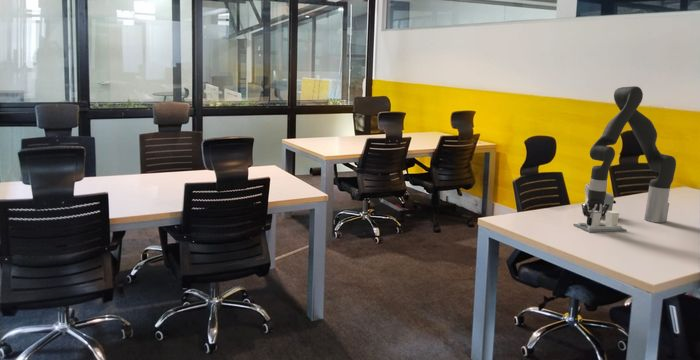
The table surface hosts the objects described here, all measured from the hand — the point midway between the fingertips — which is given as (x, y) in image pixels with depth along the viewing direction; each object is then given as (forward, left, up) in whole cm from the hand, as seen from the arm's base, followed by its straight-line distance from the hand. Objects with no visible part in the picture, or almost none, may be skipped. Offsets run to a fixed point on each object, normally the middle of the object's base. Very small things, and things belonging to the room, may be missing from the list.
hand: (592, 224), depth 283 cm
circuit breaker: (-20, -22, -2) cm, 30 cm away
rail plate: (-4, 0, -2) cm, 4 cm away
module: (0, 0, -1) cm, 1 cm away
